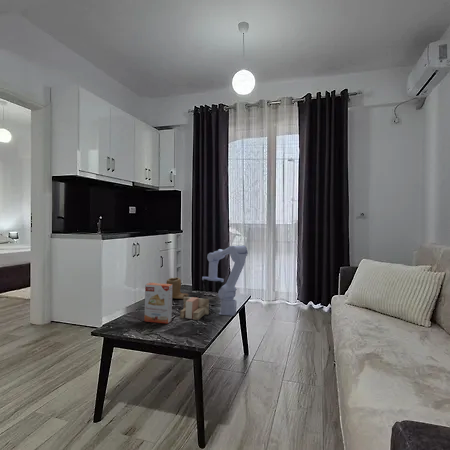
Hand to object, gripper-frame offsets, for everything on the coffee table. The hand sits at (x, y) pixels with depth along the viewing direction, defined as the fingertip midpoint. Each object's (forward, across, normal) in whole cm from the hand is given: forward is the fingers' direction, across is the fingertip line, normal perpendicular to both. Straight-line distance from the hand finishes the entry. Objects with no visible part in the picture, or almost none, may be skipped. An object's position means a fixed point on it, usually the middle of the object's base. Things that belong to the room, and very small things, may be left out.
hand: (212, 291), depth 207 cm
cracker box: (+11, -15, -39) cm, 43 cm away
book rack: (+10, -3, -22) cm, 24 cm away
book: (+10, -3, -22) cm, 24 cm away
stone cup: (+11, -33, +11) cm, 37 cm away
